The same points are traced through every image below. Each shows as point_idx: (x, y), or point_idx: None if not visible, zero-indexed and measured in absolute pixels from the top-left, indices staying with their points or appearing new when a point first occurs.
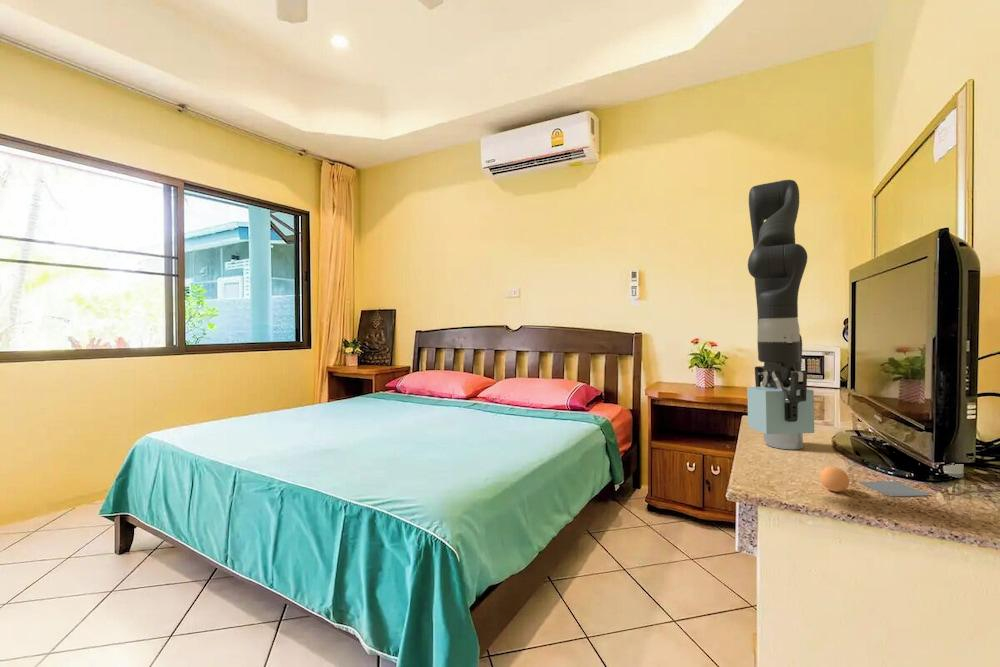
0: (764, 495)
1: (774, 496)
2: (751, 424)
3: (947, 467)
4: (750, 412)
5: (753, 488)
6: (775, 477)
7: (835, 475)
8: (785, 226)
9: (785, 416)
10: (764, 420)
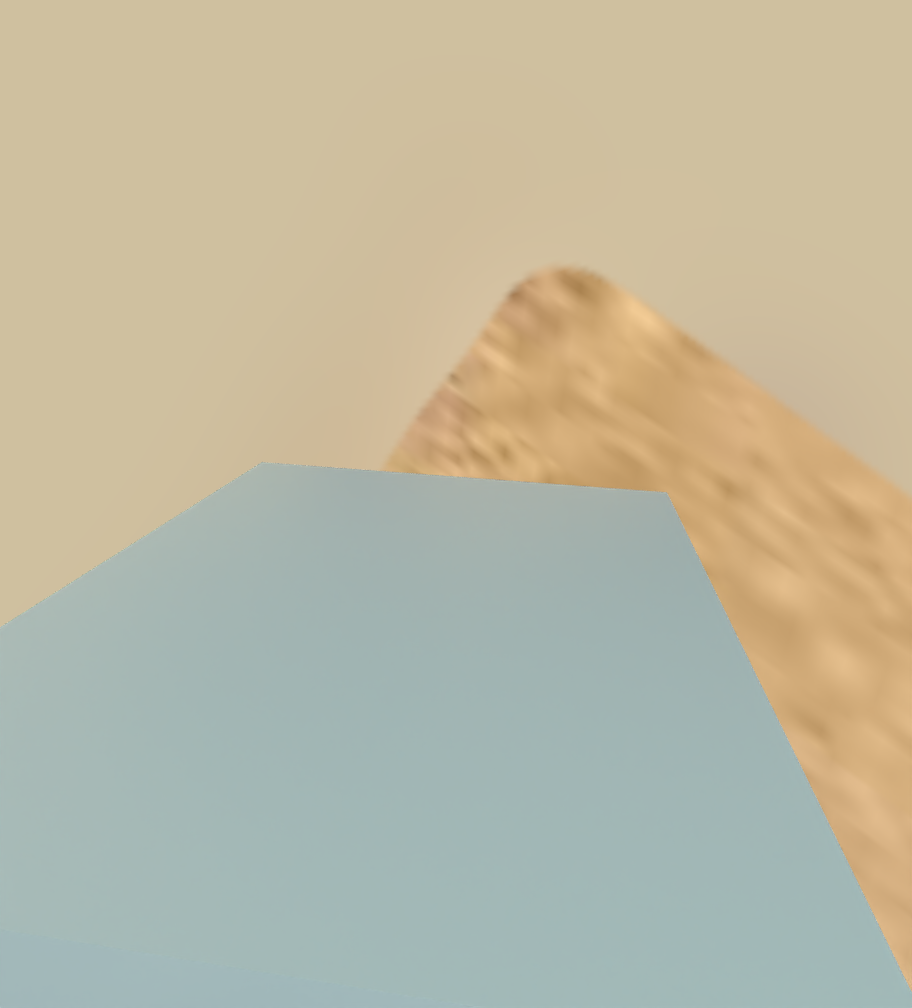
0: (478, 388)
1: (457, 435)
2: (583, 501)
3: None
4: (618, 571)
5: (593, 395)
6: (742, 643)
7: None
8: None
9: None
10: (224, 514)
